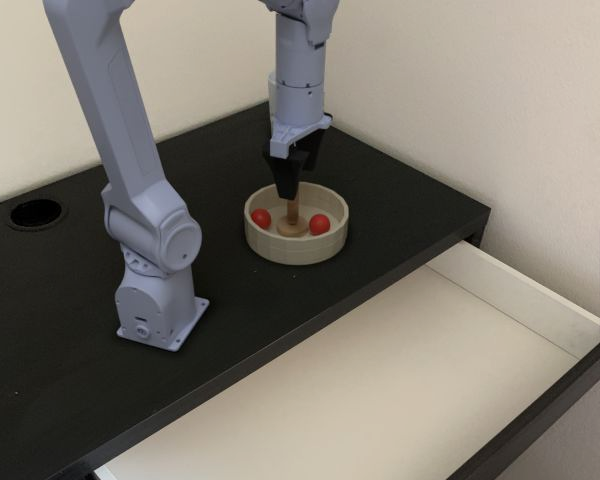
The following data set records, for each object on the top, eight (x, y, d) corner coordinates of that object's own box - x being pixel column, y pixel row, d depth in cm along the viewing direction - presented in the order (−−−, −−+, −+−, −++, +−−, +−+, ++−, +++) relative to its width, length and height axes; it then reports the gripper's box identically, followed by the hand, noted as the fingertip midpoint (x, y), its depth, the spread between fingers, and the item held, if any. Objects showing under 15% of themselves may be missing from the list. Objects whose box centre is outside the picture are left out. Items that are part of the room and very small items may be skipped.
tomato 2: (328, 240, 91) (315, 226, 89) (313, 240, 93) (301, 226, 91) (338, 223, 92) (325, 208, 90) (323, 223, 94) (311, 209, 92)
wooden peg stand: (288, 242, 91) (289, 190, 85) (270, 226, 93) (270, 175, 87) (314, 232, 93) (316, 180, 87) (296, 217, 95) (297, 165, 89)
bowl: (328, 274, 88) (330, 249, 85) (229, 251, 90) (228, 226, 87) (358, 217, 96) (360, 193, 93) (267, 198, 99) (266, 173, 96)
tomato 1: (270, 236, 93) (260, 227, 90) (253, 231, 94) (242, 223, 91) (278, 215, 93) (267, 207, 90) (260, 211, 94) (250, 203, 91)
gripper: (312, 110, 72) (307, 218, 82) (350, 59, 81) (341, 162, 91) (252, 98, 73) (255, 206, 83) (295, 50, 82) (293, 153, 93)
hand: (297, 183), depth 87 cm, fingers open, 7 cm apart
